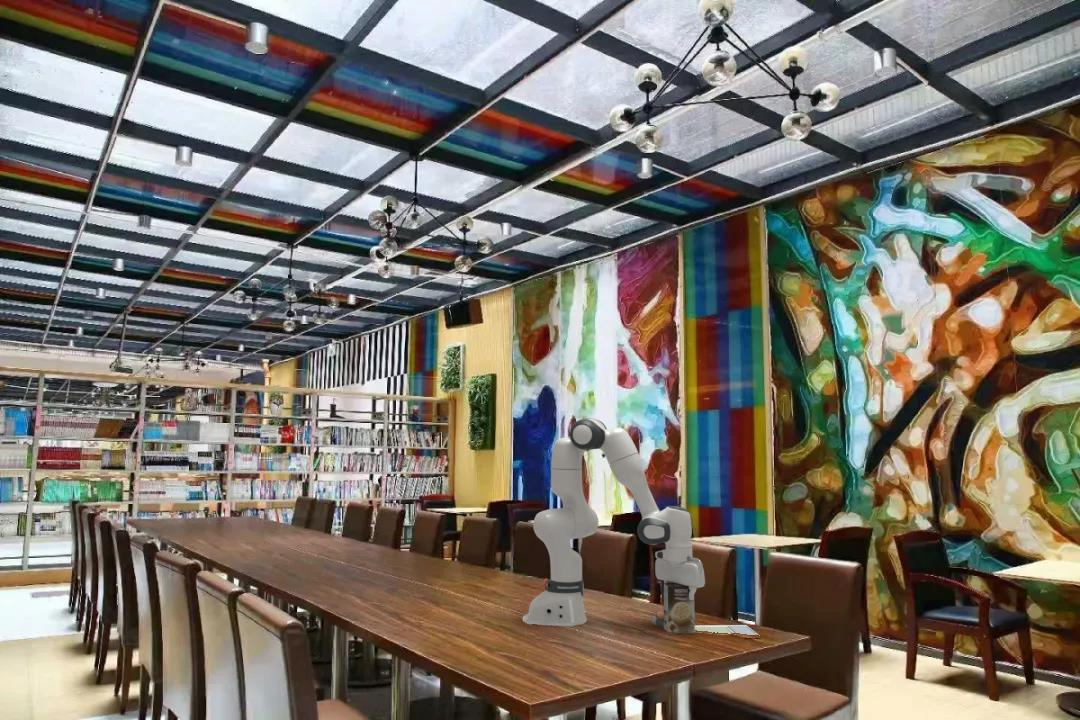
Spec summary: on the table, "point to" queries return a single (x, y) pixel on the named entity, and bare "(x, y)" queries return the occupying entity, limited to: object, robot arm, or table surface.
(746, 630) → the picture board
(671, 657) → the table surface
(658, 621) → the button housing
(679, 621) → the coffee box
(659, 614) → the button
